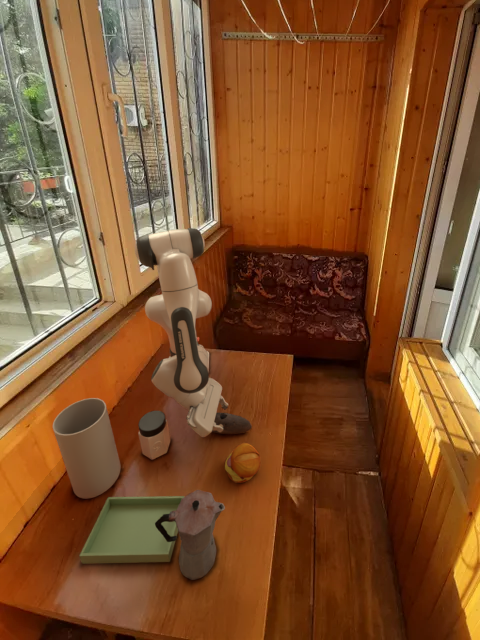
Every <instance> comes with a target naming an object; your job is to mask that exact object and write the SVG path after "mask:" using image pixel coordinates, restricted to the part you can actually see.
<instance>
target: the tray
mask: <svg viewBox="0 0 480 640" xmlns="http://www.w3.org/2000/svg"><path fill="white" fill-rule="evenodd" d="M184 497H185V495H165V496H164V495H163V496H162V495H158V496H157V495H156V496H154V495H153V496H151V495H150V496H108V497H107V498H106V500H105V503H104V504H103V507H102V508H101V510H100V513H99V515H98V517H97V519H96V521H95V523H94V525H93V527H92V529H91V531H90V533H89V535H88V537H87V539H86V541H85V543H84V545H83V547H82V549H81V552H80V553H79V554H78V555H79V556H78V558H79V559H80V561H81V564H83V565H84V564H130V563H138V564H139V563H170V562H171V559H172V555H173V552H174V548H175V543H176V541H172V542H167V541H166V539H165V538H164V537H163V535H162V534H161V533H160V531H158V529H157V528H156V526H155V522H156V521H158V519H160V517H162V516H163V514H170V512H171V511H176V510H177V508H178V506H179V504H180V502H181V500H182V498H184ZM161 524H162V525H163V526H164V528H165V530H166V531H167V533H168V534H169V535H170V536H177V537H178V534H179V532H178V528H177V526H176V522H175V521H173V522H163V523H161Z"/></svg>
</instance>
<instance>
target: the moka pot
mask: <svg viewBox="0 0 480 640" xmlns="http://www.w3.org/2000/svg"><path fill="white" fill-rule="evenodd" d="M225 509H226V505H224V503H223V502H219V501H216V500H215V499H214V495H213V494H212V492H209V491H204V490H201V489H196V490H194V491H193V492H191V493H189V494H187V495H186V496H185V495H184V498H182V500H181V502H180V504H179V506H178V508H177V510H176V511H171V512H170V514H163V516H162V517H160V519H158V521H156V522H155V526H156V528H157V529H158V531H160V533H161V534H162V535H163V537H164V538H165V539H166V541H167V542H172V541H175V542H176V541H177V539H178V535H179V540H180V547H179V548H180V549H179V555H178V565H179V566H178V567H179V569H180V572H181V574H182V576H184V577H185V578H187V579H188V580H191V581H194V580H199V579H201V578H203V577H205V576H206V575H208V573H209V571H211V569H212V568H213V566H214V564H215V562H216V557H217V546H216V542H215V537H214V530H215V526H216V521H217V520H218V518H219V516H220V515H221V514H222V512H223V511H224V510H225ZM173 521H175V522H176V526H177V528H178V535H177V536H170V535H169V534H168V533H167V531H166V530H165V528H164V526H163V525H162V524H161V523H163V522H173Z"/></svg>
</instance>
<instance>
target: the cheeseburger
mask: <svg viewBox="0 0 480 640" xmlns="http://www.w3.org/2000/svg"><path fill="white" fill-rule="evenodd" d="M260 468H261V455H260V453H259V451H257V449H256V448H255V447H254V446H253V445H252V444H250V443H247V442H243V443H240V444H238V445H236V446H235V447H234V448H233V450H232V451H231V452H230V454H229V455H228V456H227V458H226V460H225V463H224V470H225V471H226V474H227V476H228V477H229V479H230V480H231V481H232V482H234V483H240V484H241V483H242V484H243V483H245V482H248V481H250V480H251V479H252V478H253V477H254V476H255V475H256V474H257V473H258V472H259V470H260Z"/></svg>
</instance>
